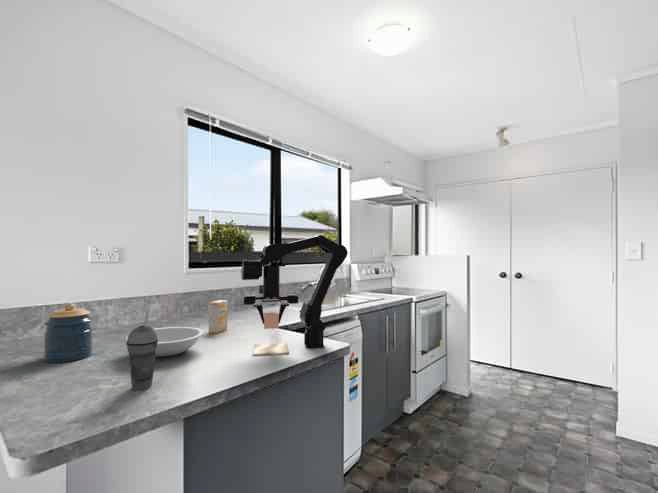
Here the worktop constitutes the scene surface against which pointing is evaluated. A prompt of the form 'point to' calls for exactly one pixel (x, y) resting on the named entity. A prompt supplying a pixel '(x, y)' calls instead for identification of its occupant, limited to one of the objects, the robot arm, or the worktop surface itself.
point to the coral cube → (271, 320)
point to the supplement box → (218, 316)
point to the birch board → (270, 349)
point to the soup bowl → (175, 339)
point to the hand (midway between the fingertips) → (271, 323)
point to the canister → (68, 335)
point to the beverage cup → (142, 355)
